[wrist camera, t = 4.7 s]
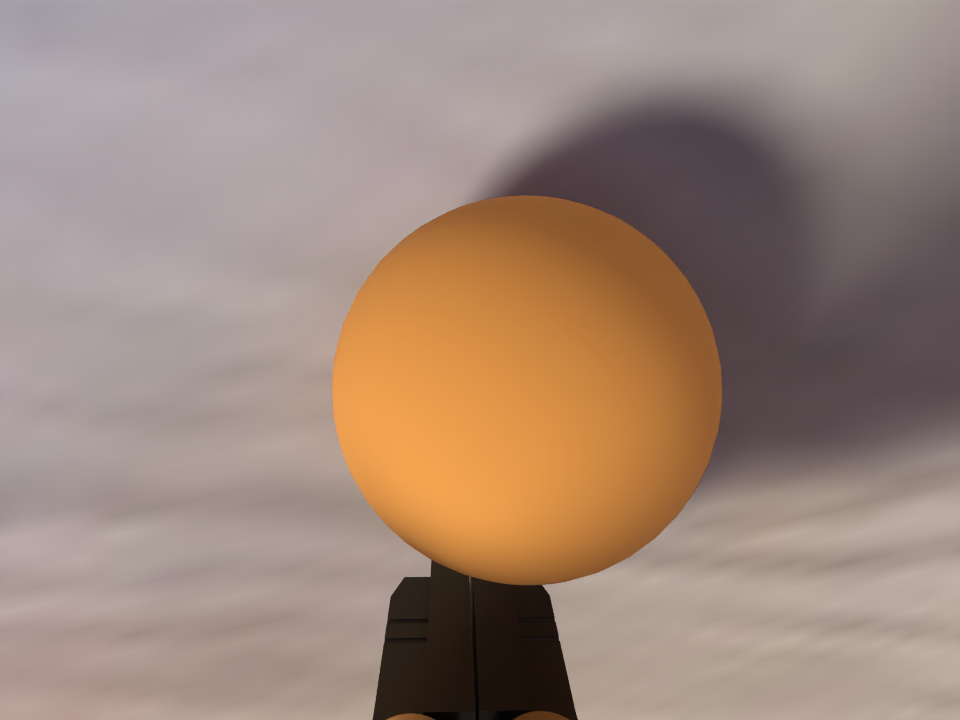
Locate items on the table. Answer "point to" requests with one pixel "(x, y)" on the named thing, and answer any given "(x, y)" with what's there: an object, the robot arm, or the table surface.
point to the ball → (527, 390)
